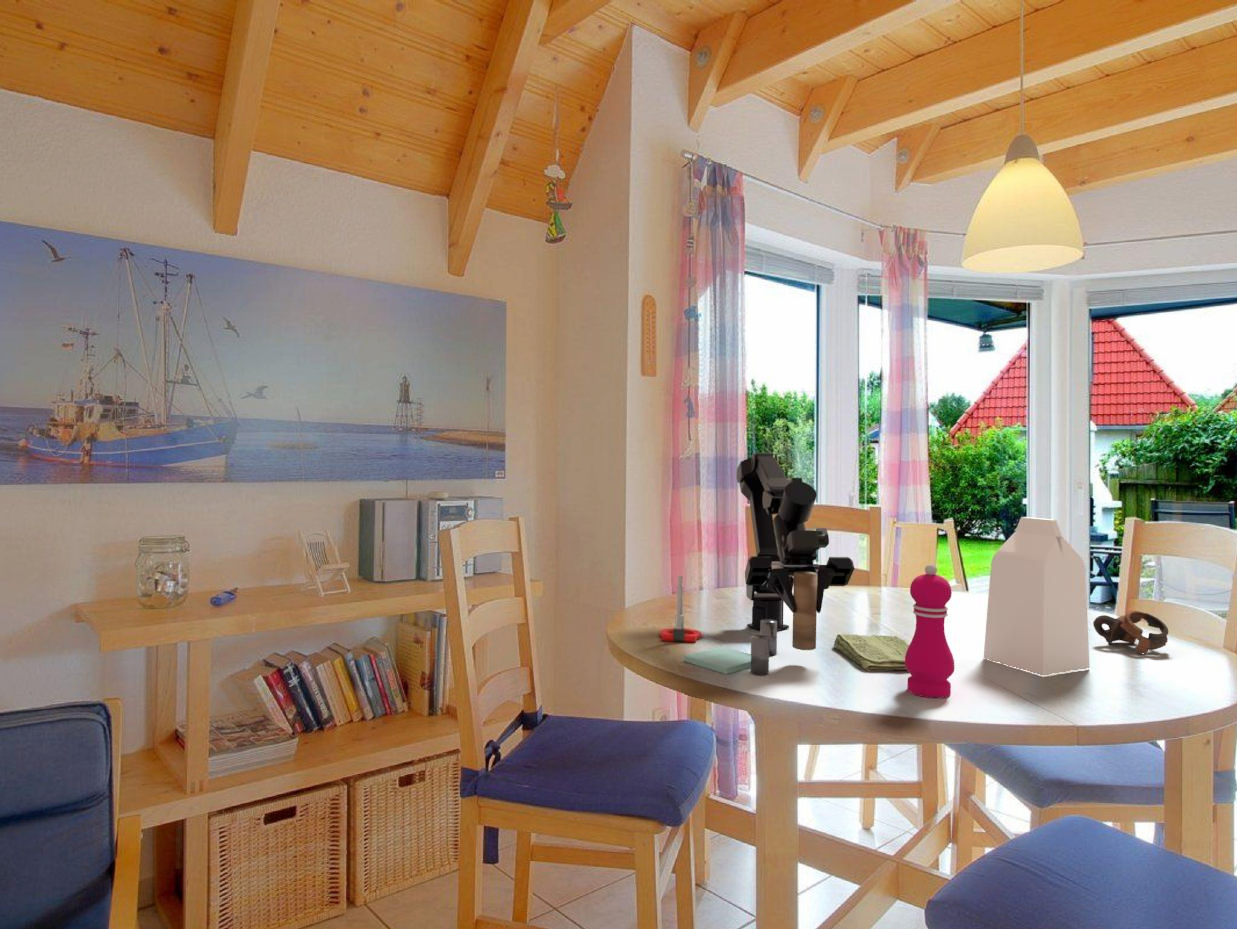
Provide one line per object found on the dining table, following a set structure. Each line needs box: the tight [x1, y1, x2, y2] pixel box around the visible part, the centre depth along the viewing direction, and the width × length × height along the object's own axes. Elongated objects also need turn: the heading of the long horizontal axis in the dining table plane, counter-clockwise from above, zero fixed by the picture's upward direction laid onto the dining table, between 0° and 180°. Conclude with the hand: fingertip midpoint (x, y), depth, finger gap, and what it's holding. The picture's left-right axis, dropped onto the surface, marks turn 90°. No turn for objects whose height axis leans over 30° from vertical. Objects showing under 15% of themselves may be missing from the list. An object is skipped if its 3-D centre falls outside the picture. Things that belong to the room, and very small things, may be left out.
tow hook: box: [659, 575, 703, 643], centre depth 153 cm, size 8×13×9 cm
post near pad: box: [750, 634, 770, 676], centre depth 128 cm, size 3×3×6 cm
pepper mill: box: [905, 563, 955, 698], centre depth 119 cm, size 7×7×20 cm
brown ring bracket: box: [1093, 610, 1169, 654], centre depth 147 cm, size 12×10×8 cm
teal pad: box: [683, 646, 751, 675], centre depth 134 cm, size 10×10×1 cm
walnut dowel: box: [791, 571, 818, 651], centre depth 133 cm, size 4×4×13 cm
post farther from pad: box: [759, 619, 778, 657], centre depth 141 cm, size 3×3×6 cm
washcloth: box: [833, 633, 910, 671], centre depth 138 cm, size 13×18×3 cm
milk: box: [983, 516, 1090, 675], centre depth 135 cm, size 12×12×26 cm
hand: (806, 611), depth 132 cm, fingers closed on walnut dowel, 4 cm apart
